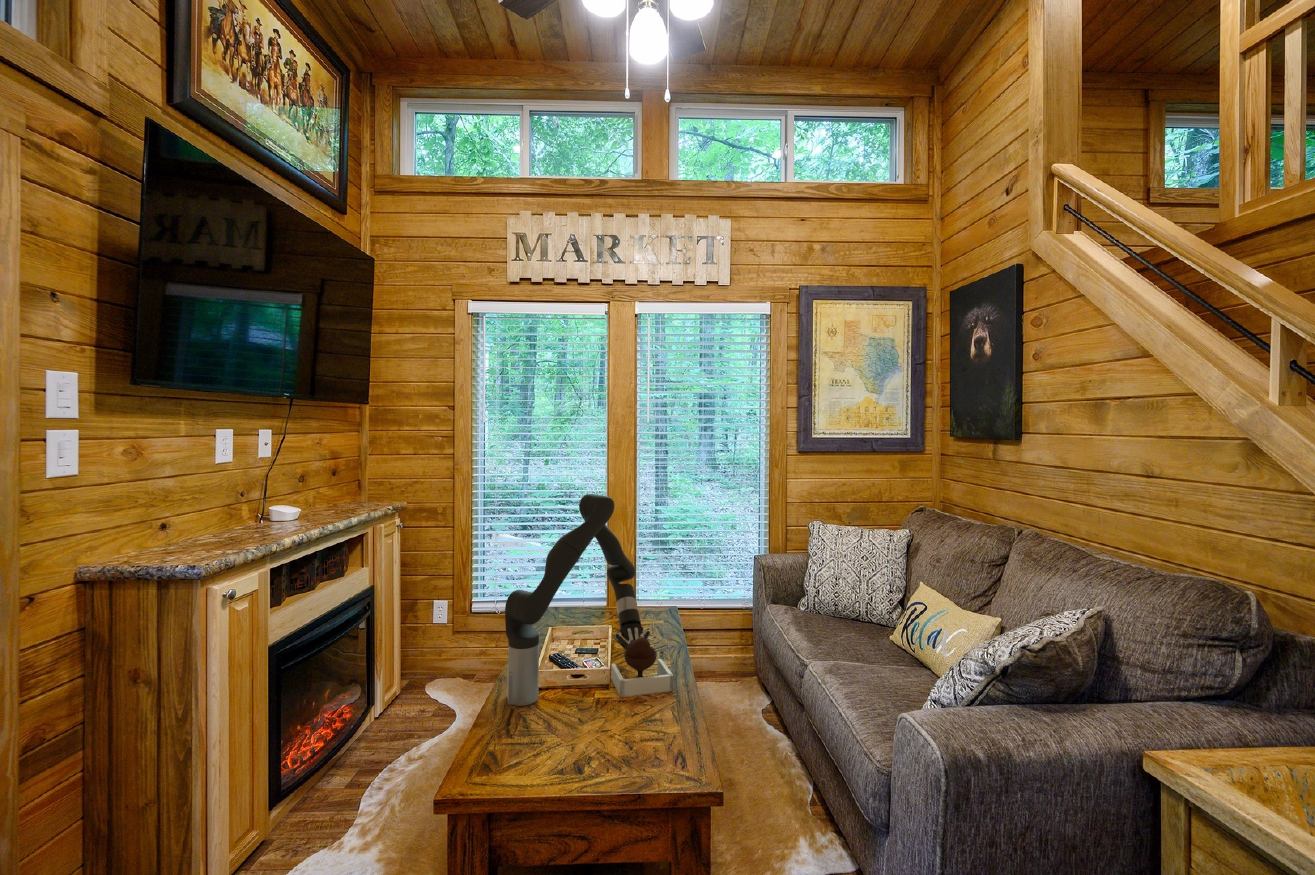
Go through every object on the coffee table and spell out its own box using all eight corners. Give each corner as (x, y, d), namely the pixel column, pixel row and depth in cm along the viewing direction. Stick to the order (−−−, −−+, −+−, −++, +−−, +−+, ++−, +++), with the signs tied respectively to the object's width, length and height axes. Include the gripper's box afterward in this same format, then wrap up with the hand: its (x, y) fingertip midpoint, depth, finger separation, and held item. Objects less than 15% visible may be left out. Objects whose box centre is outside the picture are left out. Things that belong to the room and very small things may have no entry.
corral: (620, 697, 183) (620, 681, 183) (611, 678, 196) (611, 664, 196) (673, 691, 188) (673, 675, 188) (660, 673, 201) (661, 658, 201)
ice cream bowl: (662, 680, 196) (663, 635, 195) (642, 692, 187) (643, 645, 186) (637, 671, 202) (638, 628, 202) (616, 683, 193) (617, 638, 192)
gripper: (611, 609, 206) (619, 657, 194) (648, 606, 210) (657, 653, 198) (608, 619, 211) (615, 667, 200) (643, 616, 215) (652, 662, 204)
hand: (636, 660), depth 199 cm, fingers closed
